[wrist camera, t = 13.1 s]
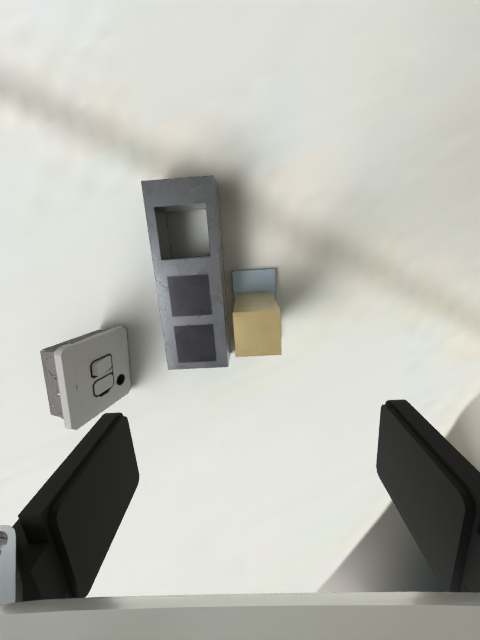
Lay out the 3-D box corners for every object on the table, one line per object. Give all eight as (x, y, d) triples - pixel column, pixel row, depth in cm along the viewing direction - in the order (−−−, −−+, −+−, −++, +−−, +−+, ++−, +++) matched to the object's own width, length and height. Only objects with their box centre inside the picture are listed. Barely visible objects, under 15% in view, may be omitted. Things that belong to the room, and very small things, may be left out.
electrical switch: (132, 390, 37) (87, 435, 28) (97, 386, 38) (42, 429, 29) (127, 324, 35) (77, 351, 26) (90, 321, 35) (27, 346, 26)
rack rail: (154, 189, 30) (140, 180, 26) (217, 184, 30) (212, 175, 26) (176, 356, 36) (168, 369, 32) (230, 353, 35) (228, 367, 31)
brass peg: (237, 292, 32) (232, 312, 23) (270, 290, 32) (280, 310, 23) (239, 324, 34) (235, 356, 24) (271, 323, 33) (281, 354, 24)
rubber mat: (232, 271, 32) (232, 271, 32) (274, 268, 32) (274, 268, 32) (237, 342, 35) (237, 343, 34) (276, 340, 35) (276, 341, 34)
